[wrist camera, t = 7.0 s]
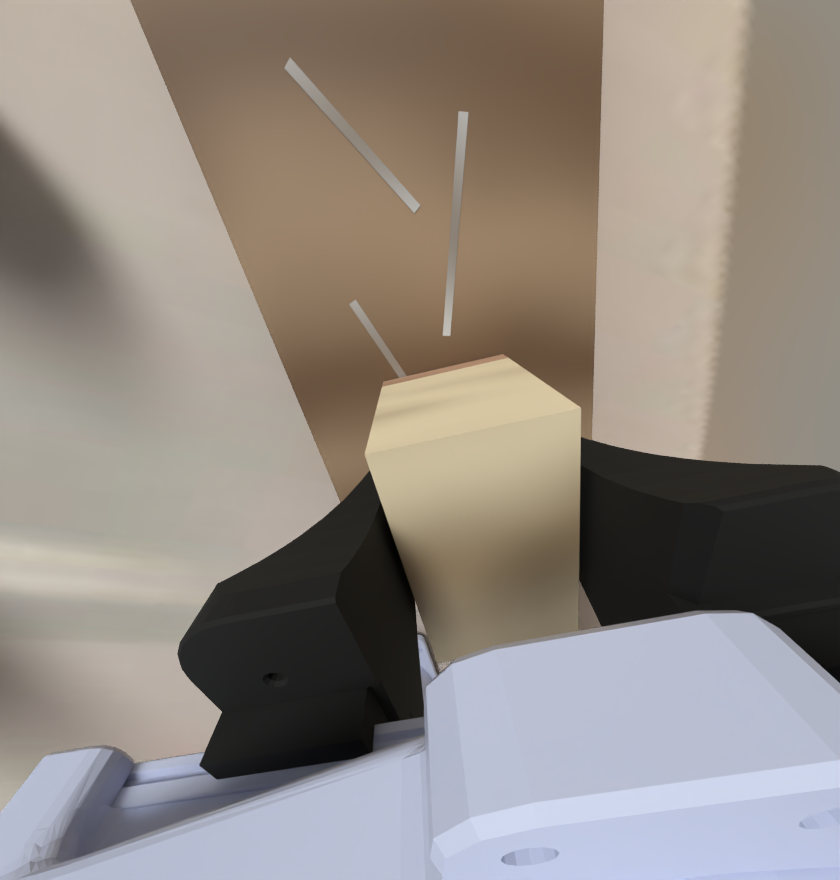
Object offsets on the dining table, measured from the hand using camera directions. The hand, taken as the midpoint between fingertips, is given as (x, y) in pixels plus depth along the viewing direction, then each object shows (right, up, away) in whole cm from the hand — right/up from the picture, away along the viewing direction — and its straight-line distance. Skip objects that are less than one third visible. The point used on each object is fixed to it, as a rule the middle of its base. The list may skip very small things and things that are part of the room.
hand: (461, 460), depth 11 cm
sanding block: (0, 0, +1) cm, 1 cm away
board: (-1, +3, +1) cm, 4 cm away
